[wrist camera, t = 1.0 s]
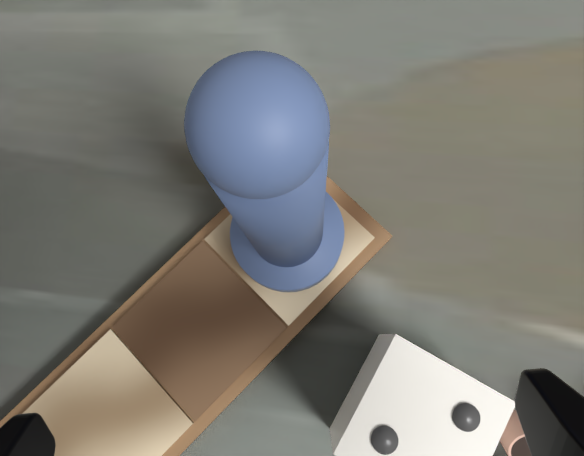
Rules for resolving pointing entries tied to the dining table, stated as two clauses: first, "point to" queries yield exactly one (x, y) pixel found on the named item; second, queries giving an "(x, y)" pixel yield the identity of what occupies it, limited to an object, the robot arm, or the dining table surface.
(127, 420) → the board
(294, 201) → the pawn
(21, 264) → the dining table surface
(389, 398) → the white block
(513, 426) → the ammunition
